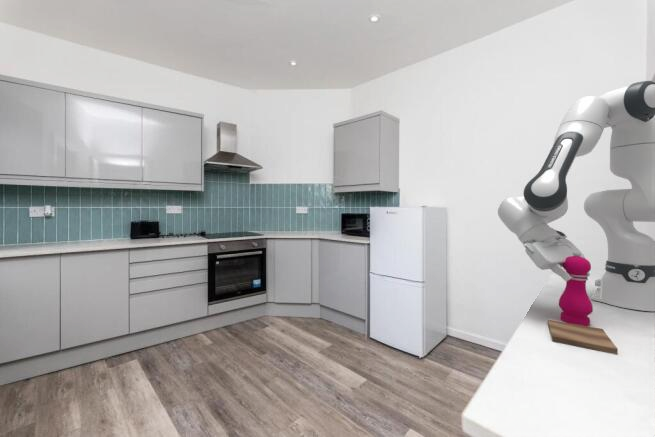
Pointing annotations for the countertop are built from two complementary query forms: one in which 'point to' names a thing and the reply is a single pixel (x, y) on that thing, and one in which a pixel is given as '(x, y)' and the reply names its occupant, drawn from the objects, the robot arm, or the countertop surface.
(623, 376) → the countertop surface
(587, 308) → the pepper mill
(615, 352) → the walnut board
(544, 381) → the countertop surface
